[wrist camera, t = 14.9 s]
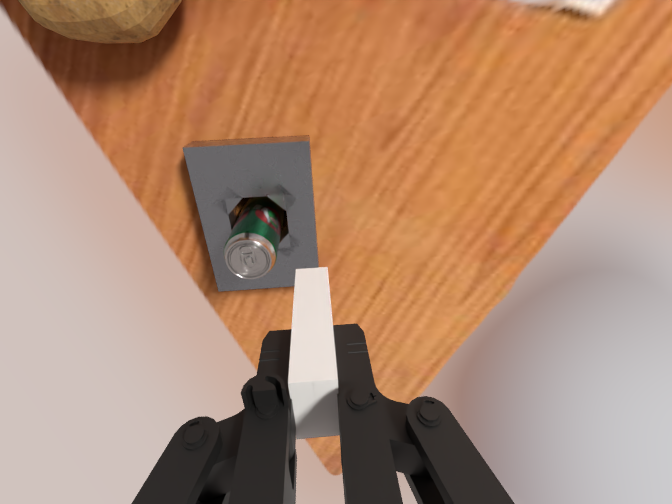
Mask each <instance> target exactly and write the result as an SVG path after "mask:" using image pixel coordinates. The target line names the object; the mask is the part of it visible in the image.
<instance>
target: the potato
mask: <svg viewBox="0 0 672 504" xmlns="http://www.w3.org/2000/svg"><path fill="white" fill-rule="evenodd" d="M18 1H19V2H20V3H21V5H22V6H23V7H24V8H25V10H26V11H27V12H28V13H29V14H30V16H31V17H32V18H33V19H34V21H36V22H37V23H39V24H40V25H42V26H43V27H45V28H47V29H50V30H52V31H54V32H56V33H58V34H61V35H63V36H65V37H67V38H70V39H75V40H83V41H90V42H98V43H141V42H143V41H146V40H148V39H150V38H152V37H154V36H156V35H158V34H159V32H160V31H161V30H162V28H163V27H164V25H165V24H166V23H167V21H168V20H169V18H170V17H171V16H172V14H173V13H174V11H175V10H176V9H177V7H178V6H179V4H180V3H181V1H182V0H18Z"/></svg>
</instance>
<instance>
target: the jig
mask: <svg viewBox="0 0 672 504" xmlns="http://www.w3.org/2000/svg"><path fill="white" fill-rule="evenodd" d="M183 152H184V156H185V160H186V164H187V168H188V171H189V175H190V179H191V183H192V187H193V191H194V195H195V199H196V203H197V207H198V211H199V215H200V219H201V223H202V227H203V231H204V235H205V239H206V243H207V247H208V251H209V255H210V259H211V263H212V267H213V271H214V275H215V279H216V283H217V287H218V291H219V292H220V291H234V290H248V289H262V288H276V287H290V286H295V273H296V269H305V268H319V262H318V249H317V235H316V221H315V208H314V194H313V180H312V167H311V153H310V139H309V135H306V136H287V137H268V138H248V139H229V140H210V141H193V142H191V143H189V144H188V145H186V146H184V147H183ZM263 196H267V197H269V198H270V199H271V200H273V201H274V202H275V203H276V204H278V205H279V206H280V207H281V208H283V209H284V210H285V211H286V212H287V221H288V224H287V225H286V227H285V228H284V229H283V230H282V231H281V236H280V242H279V247H278V253H277V259H276V262H275V265H274V266H273V268H272V269H271V270H270V271H269V272H267V273H266V274H265V275H264V276H262V277H260V278H257V279H243V278H240V277H238V276H236V275H235V274H233V273H232V272H231V271H230V270H229V268H228V267H227V264H226V261H225V258H224V246H225V244H226V242H227V240H228V238H229V236H230V233H231V231H232V229H233V227H234V225H235V223H236V221H237V215H236V210H235V206H236V205H237V204H238V203H239V201H240V200H241V199H242V198H246V197H263Z"/></svg>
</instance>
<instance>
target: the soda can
mask: <svg viewBox="0 0 672 504" xmlns="http://www.w3.org/2000/svg"><path fill="white" fill-rule="evenodd" d="M283 219H284V213H283V209H282V208H281V207H280V206H279V205H278V204H276V203H275V202H274V201H273V200H271V199H270V198H269V197H267V196H263V197H252V198H250V199H249V200H248V201H247V202H246V203H245V205H244V207H243V209H242V211H241V213H240V215H239V217H238V219H237V221H236V223H235V225H234V227H233V229H232V231H231V233H230V236H229V238H228V240H227V242H226V244H225V246H224V258H225V261H226V264H227V267H228V268H229V270H230V271H231V272H232V273H233V274H235V275H236V276H238V277H240V278H243V279H257V278H260V277H262V276H264V275H265V274H266V273H267V272H269V271H270V270H271V269H272V268H273V266H274V265H275V262H276V259H277V253H278V247H279V242H280V236H281V230H282V225H283Z"/></svg>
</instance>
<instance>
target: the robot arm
mask: <svg viewBox="0 0 672 504" xmlns="http://www.w3.org/2000/svg"><path fill="white" fill-rule="evenodd" d="M241 395H242V399H243V403H244V407H245V409H243V410H242V411H241V412H239V413H238V414H236V415H234V416H232V417H230V418H227V419H225V420H222V421H219V422H216V421H215V420H214V419H212V418H209V417H197V418H194V419H192V420H189V421H188V422H186V423H185V424H183V425H182V426H181V427H180V428H179V429H178V431H177V432H176V433H175V434H174V436H173V437H172V439H171V441H170V442H169V444H168V446H167V447H166V449H165V450H164V452H163V454H162V455H161V457H160V458H159V460H158V462H157V463H156V465H155V467H154V468H153V470H152V471H151V473H150V475H149V477H148V478H147V480H146V481H145V483H144V484H143V486H142V488H141V489H140V491H139V493H138V494H137V496H136V497H135V499H134V501H133V502H132V504H295V499H296V498H295V497H296V466H297V463H296V462H297V455H296V449H295V440H296V438H297V439H304V438H315V437H326V436H337V435H340V444H341V463H342V472H343V484H344V497H345V504H403V502H402V497H401V493H400V488H399V483H398V478H397V474H396V471H398V472H402V473H404V475H405V477H406V479H407V481H408V484H409V486H410V488H411V490H412V492H413V494H414V496H415V499H416V501H417V503H418V504H514V502H513V501H512V499H511V498H510V497H509V495H508V494H507V492H506V491H505V489H504V488H503V487H502V485H501V483H500V482H499V481H498V479H497V478H496V477H495V475H494V473H493V472H492V471H491V469H490V468H489V466H488V465H487V464H486V462H485V461H484V459H483V458H482V456H481V455H480V453H479V452H478V451H477V449H476V448H475V446H474V445H473V443H472V442H471V440H470V439H469V438H468V436H467V435H466V433H465V432H464V430H463V429H462V428H461V426H460V425H459V423H458V422H457V420H456V419H455V417H454V416H453V415H452V413H451V412H450V410H449V409H448V408H447V407H446V406H445V405H444V404H443V403H442V402H441V401H439V400H437V399H435V398H432V397H427V396H424V397H417V398H416V399H414V400H412V401H411V402H410V403H409V404H406V403H401V402H396V401H393V400H390V399H388V398H386V397H385V396H383V395H382V394H381V393H380V392H379V391H378V389H377V388H376V386H375V383H374V378H373V374H372V369H371V364H370V359H369V354H368V350H367V345H366V340H365V335H364V332H363V330H362V329H361V328H360V327H359V326H358V324H345V325H333V321H332V310H331V299H330V289H329V278H328V267H319V268H305V269H296V273H295V287H294V302H293V317H292V329H290V330H277V331H269V332H268V334H267V335H266V337H265V338H264V339H263V342H262V347H261V353H260V359H259V365H258V370H257V375H256V376H255V377H253V378H251V379H249V381H248V382H247V383H246V384H245V385H244V386H243V389H242V391H241Z"/></svg>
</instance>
